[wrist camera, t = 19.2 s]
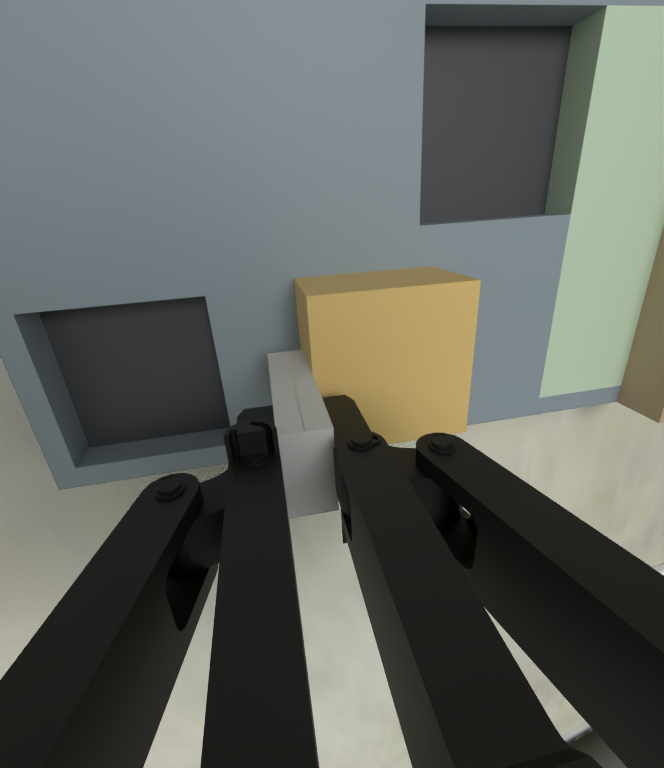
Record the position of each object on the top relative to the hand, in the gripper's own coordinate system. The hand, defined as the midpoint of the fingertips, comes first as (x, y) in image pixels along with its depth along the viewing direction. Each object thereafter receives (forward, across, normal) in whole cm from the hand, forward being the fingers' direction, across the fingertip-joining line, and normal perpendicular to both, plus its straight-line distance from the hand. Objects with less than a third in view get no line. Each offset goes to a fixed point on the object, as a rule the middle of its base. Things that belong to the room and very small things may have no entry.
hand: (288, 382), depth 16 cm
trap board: (+3, +4, +5) cm, 7 cm away
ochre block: (+1, +4, +1) cm, 4 cm away
